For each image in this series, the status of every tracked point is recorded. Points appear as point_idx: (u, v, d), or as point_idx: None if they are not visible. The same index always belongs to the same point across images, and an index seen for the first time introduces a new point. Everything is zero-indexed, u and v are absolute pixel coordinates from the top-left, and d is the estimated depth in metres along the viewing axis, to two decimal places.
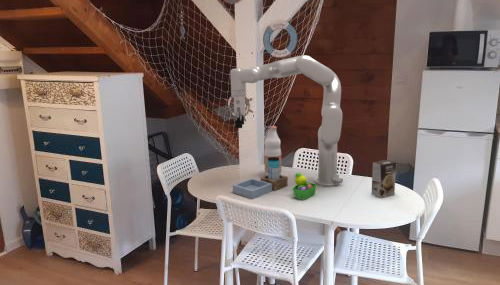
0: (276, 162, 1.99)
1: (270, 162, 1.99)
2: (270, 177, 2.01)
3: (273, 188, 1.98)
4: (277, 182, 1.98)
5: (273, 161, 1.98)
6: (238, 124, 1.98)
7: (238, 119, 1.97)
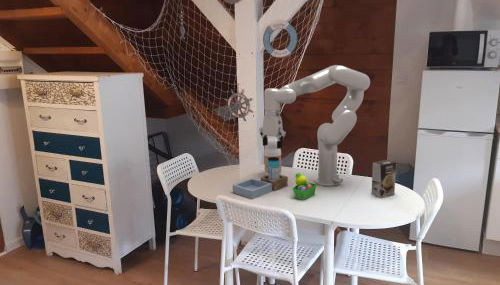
0: (276, 162, 1.99)
1: (270, 162, 1.99)
2: (270, 177, 2.01)
3: (273, 188, 1.98)
4: (277, 182, 1.98)
5: (273, 161, 1.98)
6: (280, 144, 1.95)
7: (282, 139, 1.94)
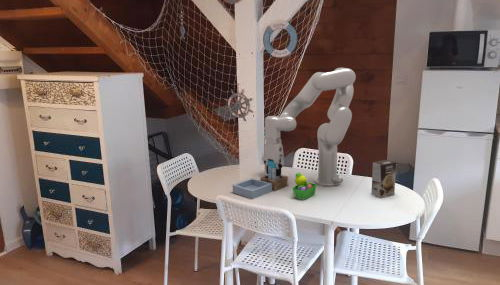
0: None
1: (270, 162, 1.99)
2: (270, 177, 2.01)
3: (273, 188, 1.98)
4: (277, 182, 1.98)
5: (273, 161, 1.98)
6: (279, 172, 2.00)
7: (280, 167, 1.99)
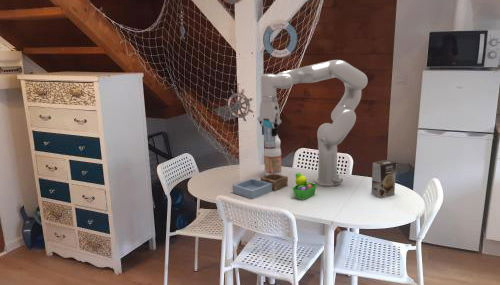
0: None
1: (266, 121, 1.93)
2: (265, 137, 1.95)
3: (273, 188, 1.98)
4: (277, 182, 1.98)
5: None
6: (275, 132, 1.94)
7: (276, 127, 1.93)
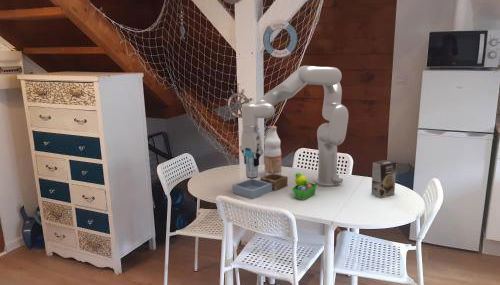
0: None
1: (247, 151, 1.91)
2: (248, 167, 1.92)
3: (273, 188, 1.98)
4: (277, 182, 1.98)
5: (250, 150, 1.90)
6: (257, 162, 1.91)
7: (258, 157, 1.90)
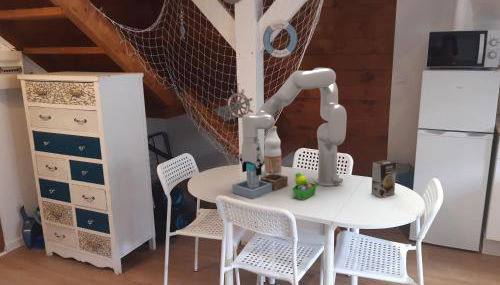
0: (255, 165, 1.92)
1: (248, 165, 1.92)
2: (249, 180, 1.94)
3: (273, 188, 1.98)
4: (277, 182, 1.98)
5: (251, 164, 1.91)
6: (260, 171, 1.91)
7: (261, 166, 1.90)
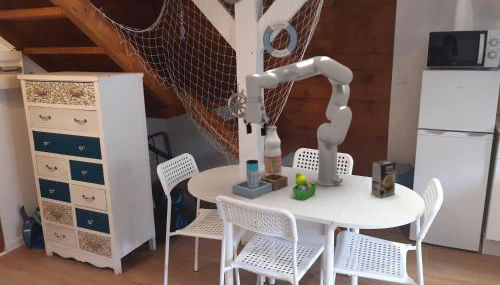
0: (255, 165, 1.92)
1: (248, 165, 1.92)
2: (249, 180, 1.94)
3: (273, 188, 1.98)
4: (277, 182, 1.98)
5: (251, 164, 1.91)
6: (264, 131, 1.89)
7: (265, 126, 1.88)
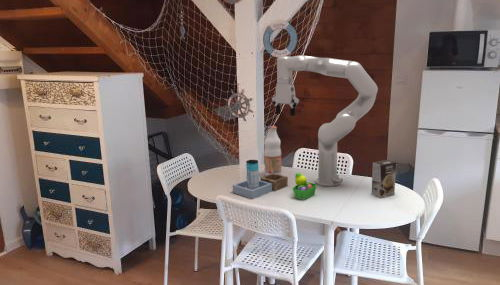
0: (255, 165, 1.92)
1: (248, 165, 1.92)
2: (249, 180, 1.94)
3: (273, 188, 1.98)
4: (277, 182, 1.98)
5: (251, 164, 1.91)
6: (294, 111, 1.99)
7: (295, 106, 1.98)
